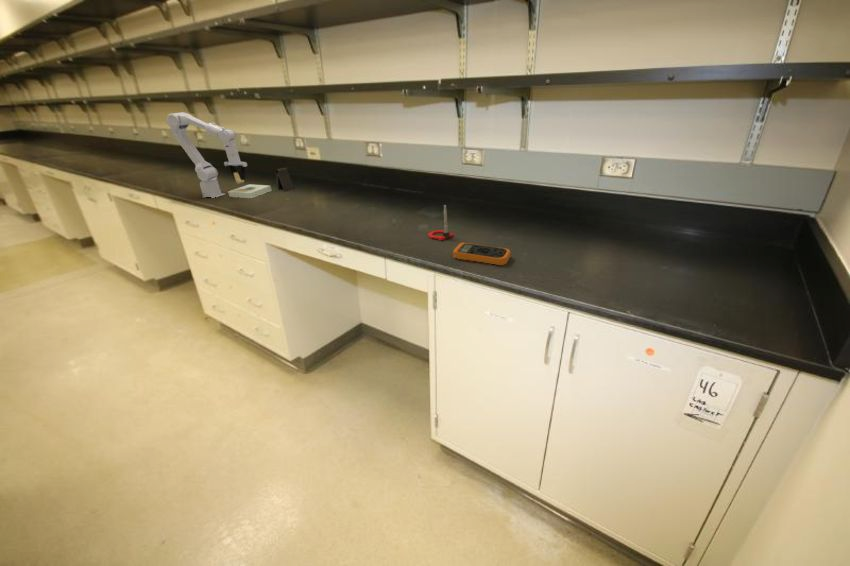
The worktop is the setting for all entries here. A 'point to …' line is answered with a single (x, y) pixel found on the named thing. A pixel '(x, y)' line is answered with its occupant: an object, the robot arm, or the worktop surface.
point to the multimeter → (482, 253)
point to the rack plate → (250, 191)
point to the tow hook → (445, 231)
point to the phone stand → (283, 180)
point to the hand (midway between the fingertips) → (240, 179)
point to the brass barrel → (238, 178)
